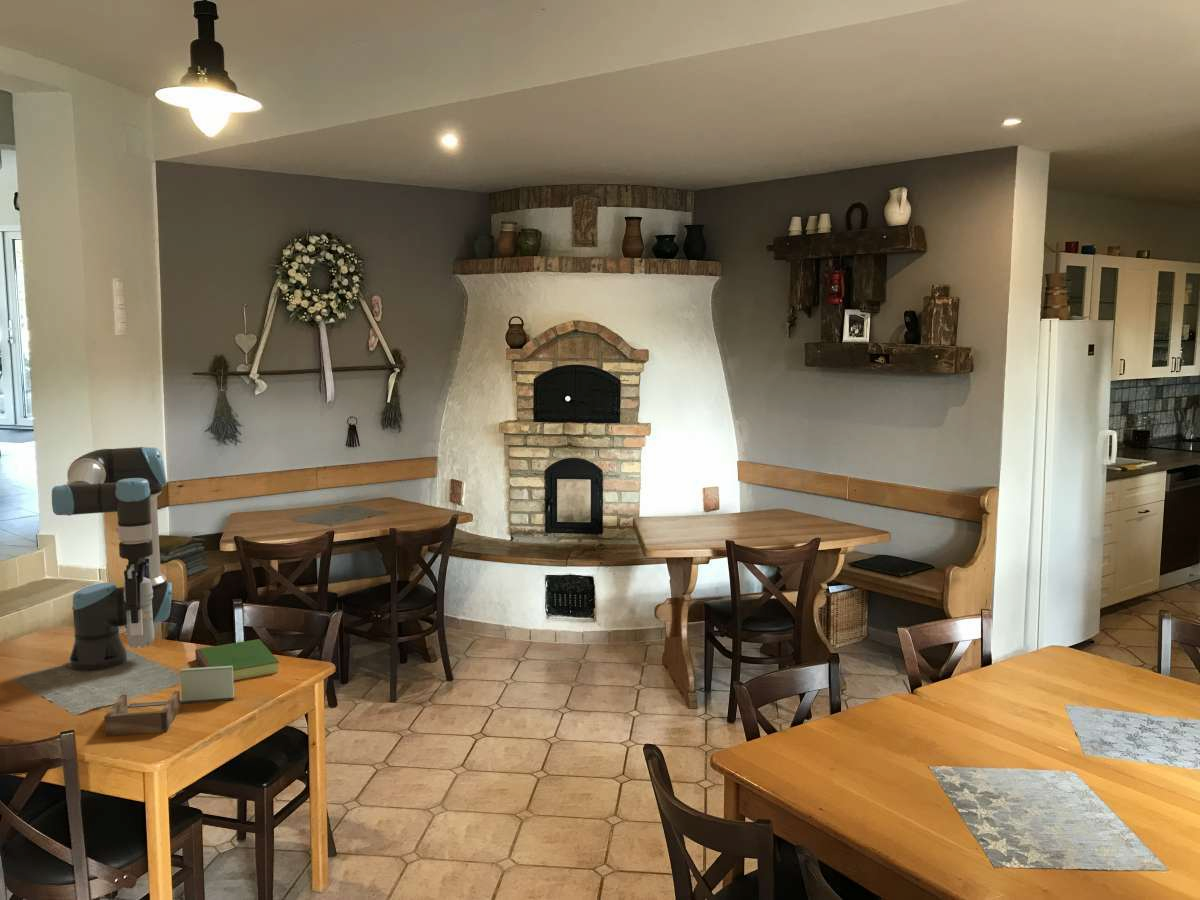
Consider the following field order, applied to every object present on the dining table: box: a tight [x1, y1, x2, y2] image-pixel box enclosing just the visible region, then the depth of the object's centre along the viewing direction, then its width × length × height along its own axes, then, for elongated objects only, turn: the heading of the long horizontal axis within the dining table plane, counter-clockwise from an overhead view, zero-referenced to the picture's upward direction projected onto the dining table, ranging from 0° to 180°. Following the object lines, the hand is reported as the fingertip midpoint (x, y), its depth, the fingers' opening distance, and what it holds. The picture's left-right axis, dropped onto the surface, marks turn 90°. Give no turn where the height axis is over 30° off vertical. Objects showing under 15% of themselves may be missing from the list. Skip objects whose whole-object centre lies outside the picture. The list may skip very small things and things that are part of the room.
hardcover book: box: [195, 638, 280, 682], centre depth 279 cm, size 25×19×4 cm
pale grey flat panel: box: [179, 666, 235, 701], centre depth 252 cm, size 1×13×9 cm, turn 102°
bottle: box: [123, 572, 156, 649], centre depth 236 cm, size 7×7×20 cm
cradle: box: [103, 690, 236, 737], centre depth 242 cm, size 20×27×5 cm
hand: (140, 630), depth 237 cm, fingers closed on bottle, 6 cm apart
